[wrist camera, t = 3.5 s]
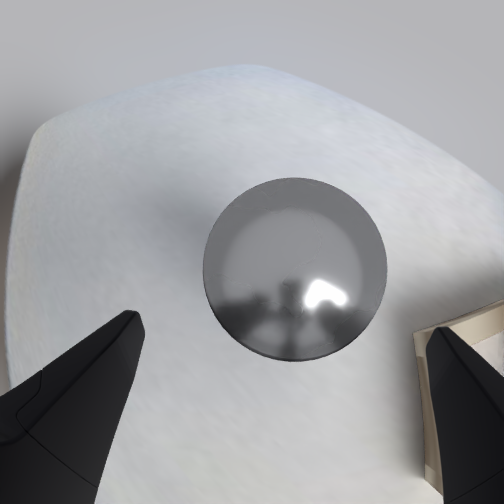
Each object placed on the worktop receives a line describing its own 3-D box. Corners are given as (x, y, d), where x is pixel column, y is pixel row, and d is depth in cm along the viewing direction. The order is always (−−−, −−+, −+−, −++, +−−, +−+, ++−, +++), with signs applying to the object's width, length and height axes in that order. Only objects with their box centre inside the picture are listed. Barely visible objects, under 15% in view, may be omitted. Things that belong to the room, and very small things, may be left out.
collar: (424, 479, 14) (443, 496, 11) (412, 332, 17) (435, 332, 14) (531, 417, 13) (553, 422, 11) (522, 290, 16) (546, 283, 13)
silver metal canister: (251, 349, 17) (215, 378, 7) (238, 272, 18) (189, 192, 8) (330, 334, 17) (408, 337, 6) (314, 258, 18) (361, 163, 8)
